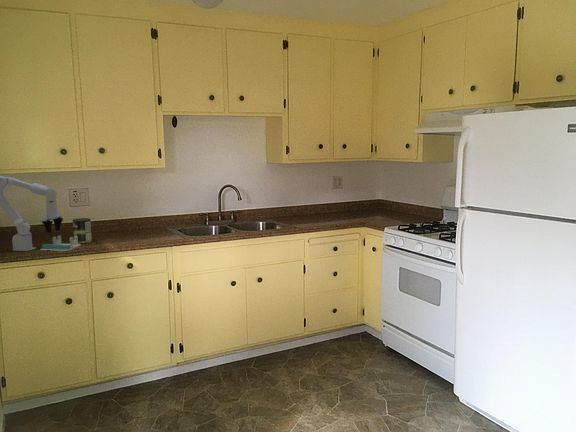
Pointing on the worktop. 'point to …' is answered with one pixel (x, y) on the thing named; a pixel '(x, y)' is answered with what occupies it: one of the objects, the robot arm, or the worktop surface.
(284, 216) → the worktop surface
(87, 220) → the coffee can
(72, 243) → the stand
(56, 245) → the rail
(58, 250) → the mat
